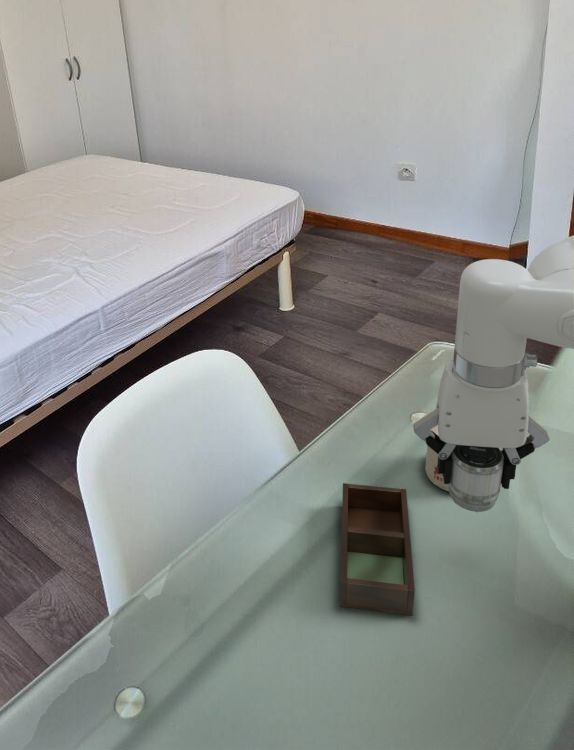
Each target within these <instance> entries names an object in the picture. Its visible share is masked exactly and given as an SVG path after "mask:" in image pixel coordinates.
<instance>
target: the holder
mask: <svg viewBox="0 0 574 750" xmlns="http://www.w3.org/2000/svg"><path fill="white" fill-rule="evenodd" d="M341 499H342V501H341V502H342V503H341V540H340V541H341V543H340V544H341V545H340V577H339V578H340V579H339V580H340V582H339V583H340V584H339V606H340V607H344V608H352V609H360V610H368V611H375V612H381V613H382V612H383V613H390V614H399V615H406V616H413V615H414V604H415V593H416V589H415V588H416V587H415V576H414V565H413V552H412V541H411V531H410V518H409V505H408V493H407V488H399V487H388V486H379V485H378V486H377V485H366V484H357V483H346V482H343V483H342V497H341Z"/></svg>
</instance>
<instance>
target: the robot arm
mask: <svg viewBox="0 0 574 750" xmlns="http://www.w3.org/2000/svg"><path fill="white" fill-rule="evenodd" d="M459 281H460V282H459V292H458V300H457V301H458V302H457V314H456V325H455V336H454V348H453V350H454V351H453V359H450V360H448V361H447V362H446V364H445V366H444V369H443V372H442V375H441V378H440V382H439V383H440V384H439V387H438V393H437V400H436V405H435V409H434V410H432V411H431V412H429V413H428V414H426V415H424V416H423V417H421V418H420V419H418V420H417V421H415V422H414V423H413V425H412V426H413V432H414V434H415V435H416V436H417V437H418V438H420V439H421V440H422V441H424V443H425V444H426V445H428V446H429V447H430V448H431V449H432V450H434V451H435V452H436V453H437V454H438V463H437V469H438V474H443V479H444V484H449V483H450V481H451V470H452V457H451V453H452V451H453V450H454V448H455V447H456V446H457V445H467V446H480V447H496V448H499V449H500V451H501V452H502V454H503V456H504V464H503V472H502V479H501V488H502V489H504V490H509V489H510V483H511V480H515V478H516V471H517V466H518V465H520V464H521V463H522V459H524V458H526V457H528V456H530V455H531V454H533V453H534V452H535V450H536V449H538V448H540V447H542V446H543V445H546V444H547V443H548V442H549V441H550V437H549V433H548V430H546V429H545V428H544V427H542V426H541V425H540V424H539V423H538V422H537V421H536V420H534V419H533V418H532V417H531V416H530V396H529V395H530V393H529V380H528V376H527V375H528V374H527V368H530V367H531V368H532V367H533V368H536V367H538V357H537V355H536V354H529V353H527V352H526V347H527V340H528V339H529V340H533V341H537V342H539V343H543V344H548V345H552V346H556V347H559V348H565V349H571V350H574V235H571V236H569V237H566V238H563V239H561V240H558V241H557V242H554V243H553V244H551V245H549V246H547V247H546V248H544V249H542V250H541V251H540V252H539V253H537V255H535V256H534V258H533V259H532V261H531V262H530V264H529V266H528V269H527V268H525V267H524V266H523V265H521V264H519V263H516V262H514V261H511V260H505V259H499V258H489V259H488V258H487V259H479V260H476V261H474V262H472V263H470V264H469V265H467V266H466V267H465V268H464V269H463V271H462V273H461V275H460V280H459ZM437 425H438V431H439V436H438V435H437V434H435V433H434V432H433V431H430V429H432V428H434V427H435V426H437ZM528 434H529V435H528ZM501 449H502V450H501Z"/></svg>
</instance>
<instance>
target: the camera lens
mask: <svg viewBox="0 0 574 750" xmlns="http://www.w3.org/2000/svg"><path fill="white" fill-rule="evenodd" d="M451 457H452V470H451V481H450V483H449V484H448V487H449V491H450V492H449V491H448V492H449V495H450V498H451V500H452V501H453V502H454V503H455V505H457V506H458V507H460V508H462V509H464V510H466V511H470V512H474V513H480V512H481V513H483V512H486V511H488V510H491V509H492V508H493V507H494V506H495V505H496V502H497V501H498V499H499V495H500V493H501V487H502V485H501V479H502V472H503V464H504V456H503V454H502V452H501V448H496V447H480V446H467V445H457V446H456V447H455V448H454V450H453V451H452V453H451Z"/></svg>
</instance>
